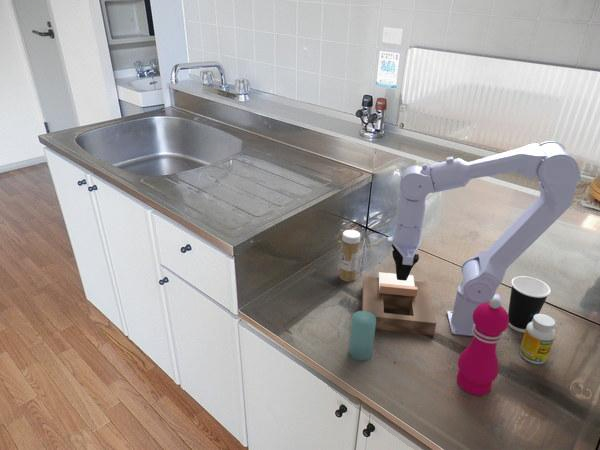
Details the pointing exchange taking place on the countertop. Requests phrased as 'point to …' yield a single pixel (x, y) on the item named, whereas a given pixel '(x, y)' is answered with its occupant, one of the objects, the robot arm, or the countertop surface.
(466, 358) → the pepper mill
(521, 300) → the dixie cup
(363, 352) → the peg
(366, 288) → the socket block
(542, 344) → the supplement bottle
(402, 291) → the panel
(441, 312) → the countertop surface
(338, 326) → the countertop surface
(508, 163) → the robot arm
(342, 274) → the sprinkles bottle
